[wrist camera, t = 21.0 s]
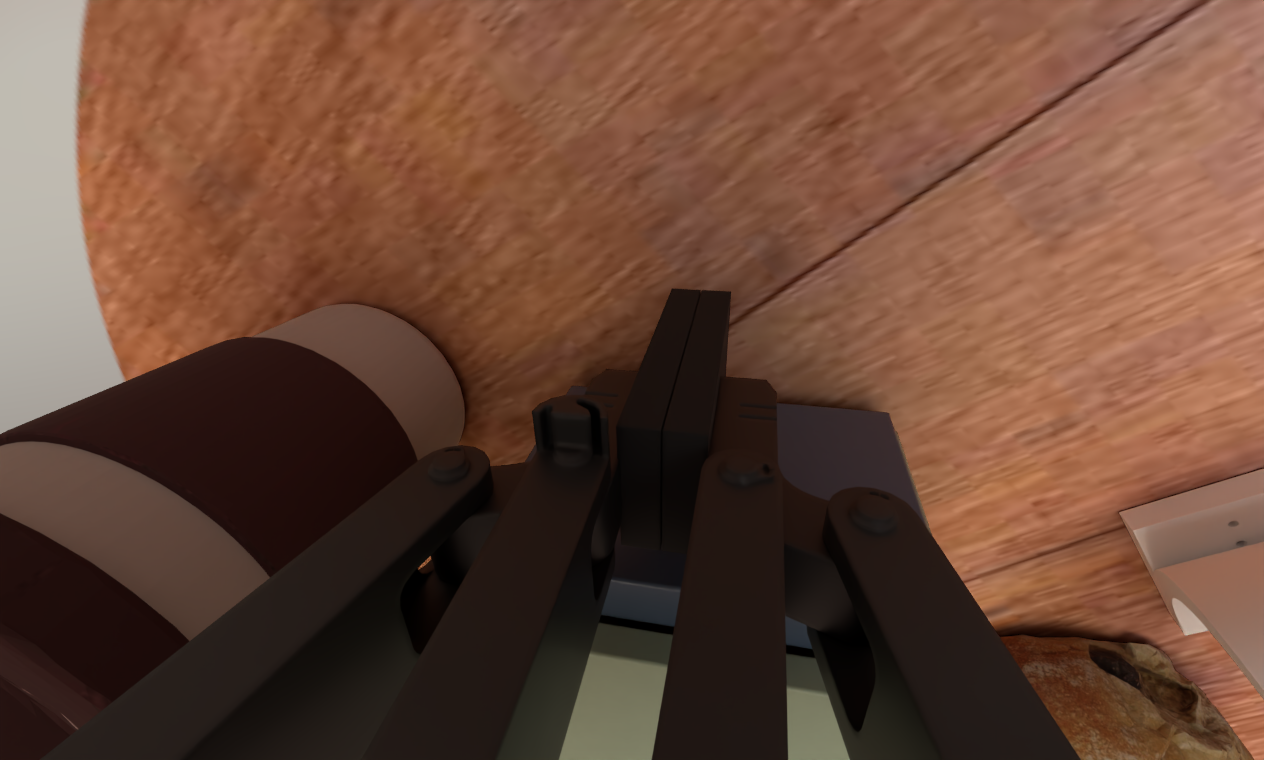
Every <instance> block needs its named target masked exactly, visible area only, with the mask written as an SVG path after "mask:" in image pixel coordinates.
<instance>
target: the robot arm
mask: <svg viewBox="0 0 1264 760" xmlns="http://www.w3.org/2000/svg"><path fill="white" fill-rule="evenodd" d="M730 300H731V292H727V291H707V290H702V291H701V290H688V289H672V290H671V292H670V295H669V297H668V300H667V302H666V304H665V307H664V309H663V312H662V314H661V317H660V319H659V322H658V324H657V327H656V329H655V332H654V334H653V336H652V339H651V341H650V344H649V346H648V349H647V351H646V354H645V356H644V359H643V361H642V363H641V366H640V368H639V371H625V370H612V369H606V370H605V371H603V372H602V373H600V374H599V375H597V376H596V377H595V378H593V379H592V380H591V382H590V384H589V386H588V388H587V389H586V391H585V394H584V395H564V396H559V397H555V398H551V399H549V400H547V401H545V402H542V403H540V404H539V405H538V406H537V407H536V408H535V409H534V410H533V411H532V416H533V424H534V432H535V439H536V447H537V451H536V453H535V455H534V457H533V458H532V460H531V461H528V462H523V463H518V464H510V465H501V466H491V467H490V461H489V458H488V457H487V455H486V454H485V452H483V451H481V450H480V449H478V448H476V447H470V446H463V445H460V446H451V447H445V448H442V449H439V450H436V451H433V452H431V453H429V454H428V455H426V456H424V457H423V458H421V459H420V460H418V461H417V462H416V463H415V464H413V465H412V466H411V467H410V468H408V469H407V470H406V471H405V472H403V473H402V474H401V475H399V476H398V477H397V478H396V479H394V480H393V481H392V482H391V483H389V484H388V485H387V486H386V487H384V488H383V489H382V490H380V491H379V492H378V493H377V494H375V495H374V496H373V497H372V498H370V499H369V500H368V501H367V502H365V503H364V504H363V505H361V506H360V507H359V508H358V509H356V510H355V511H354V512H353V513H351V514H350V515H349V516H348V517H346V518H345V519H344V520H342V521H341V522H340V523H339V524H337V525H336V526H335V527H334V528H332V529H331V530H330V531H329V532H327V533H326V534H325V535H323V536H322V537H321V538H320V539H318V540H317V541H316V542H315V543H313V544H312V545H311V546H310V547H308V548H307V549H306V550H305V551H303V552H302V553H301V554H299V555H298V556H297V557H296V558H294V559H293V560H292V561H291V562H289V563H288V564H287V565H286V566H284V567H283V568H282V569H280V570H279V571H278V572H277V573H275V574H274V575H273V576H272V577H270V578H269V579H268V580H267V581H265V582H264V583H263V584H261V585H260V586H259V587H258V588H256V589H255V590H254V591H253V592H251V593H250V594H249V595H248V596H246V597H245V598H244V599H242V600H241V601H240V602H239V603H237V604H236V605H235V606H234V607H232V608H231V609H230V610H229V611H227V612H226V613H225V614H223V615H222V616H221V617H220V618H218V619H217V620H216V621H215V622H213V623H212V624H211V625H210V626H208V627H207V628H206V629H205V630H203V631H202V632H201V633H199V634H198V635H197V636H196V637H194V638H193V639H192V640H191V641H189V642H188V643H187V644H186V645H184V646H183V647H182V648H180V649H179V650H178V651H177V652H175V653H174V654H173V655H172V656H170V657H169V658H168V659H167V660H165V661H164V662H163V663H161V664H160V665H159V666H158V667H156V668H155V669H154V670H153V671H151V672H150V673H149V674H148V675H146V676H145V677H144V678H142V679H141V680H140V681H139V682H137V683H136V684H135V685H134V686H132V687H131V688H130V689H129V690H127V691H126V692H125V693H123V694H122V695H121V696H120V697H118V698H117V699H116V700H115V701H113V702H112V703H111V704H110V705H108V706H107V707H106V708H104V709H103V710H102V711H101V712H99V713H98V714H97V715H96V716H94V717H93V718H92V719H91V720H89V721H88V722H87V723H86V724H84V725H83V726H82V727H80V728H79V729H78V730H77V731H75V732H74V733H73V734H72V735H70V736H69V737H68V738H67V739H65V740H64V741H63V742H61V743H60V744H59V745H58V746H56V747H55V748H54V749H53V750H51V751H50V752H49V753H48V754H46V755H45V756H44V757H42V758H41V759H40V760H559V758H560V754H561V751H562V747H563V744H564V740H565V737H566V734H567V730H568V727H569V723H570V720H571V716H572V713H573V709H574V706H575V703H576V699H577V696H578V692H579V689H580V685H581V682H582V678H583V675H584V672H585V668H586V665H587V661H588V658H589V654H590V651H591V648H592V644H593V641H594V637H595V634H596V630H597V627H598V623H599V620H600V617H601V613H602V610H603V606H604V603H605V599H606V596H607V593H608V589H609V586H610V582H611V579H612V575H613V572H614V568H615V542H616V539H617V536H618V532H619V529H620V532H621V545H624V546H631V547H638V548H646V549H653V550H661V545H662V551H667V552H675V553H682V554H687V556H686V562H685V568H684V574H683V579H682V585H681V591H680V597H679V603H678V609H677V615H676V620H675V626H674V632H673V638H672V644H671V650H670V655H669V661H668V667H667V673H666V679H665V685H664V690H663V696H662V702H661V708H660V714H659V720H658V725H657V731H656V737H655V743H654V749H653V755H652V760H788V723H787V675H786V627H785V616H786V617H789V618H791V619H793V620H795V621H798V622H800V623H802V624H805V625H806V627H807V635H808V638H809V640H810V643H811V646H812V649H813V652H814V655H815V658H816V661H817V664H818V667H819V670H820V673H821V676H822V679H823V682H824V685H825V688H826V691H827V694H828V697H829V700H830V703H831V705H832V708H833V711H834V714H835V717H836V720H837V723H838V726H839V729H840V732H841V735H842V738H843V741H844V744H845V747H846V750H847V753H848V756H849V759H850V760H1081V759H1080V757H1079V756H1078V754H1077V753H1076V751H1075V750H1074V748H1073V747H1072V745H1071V744H1070V742H1069V741H1068V739H1067V738H1066V736H1065V735H1064V733H1063V732H1062V730H1061V729H1060V727H1059V726H1058V724H1057V723H1056V721H1055V720H1054V718H1053V717H1052V715H1051V714H1050V712H1049V711H1048V709H1047V708H1046V706H1045V705H1044V703H1043V702H1042V700H1041V699H1040V697H1039V696H1038V694H1037V693H1036V691H1035V690H1034V688H1033V687H1032V685H1031V684H1030V682H1029V681H1028V679H1027V678H1026V676H1025V675H1024V673H1023V672H1022V670H1021V669H1020V667H1019V666H1018V664H1017V663H1016V661H1015V660H1014V658H1013V657H1012V655H1011V654H1010V652H1009V651H1008V649H1007V648H1006V646H1005V645H1004V643H1003V642H1002V640H1001V639H1000V637H999V636H998V634H997V633H996V631H995V630H994V628H993V627H992V625H991V624H990V622H989V621H988V619H987V618H986V616H985V614H984V613H983V611H982V610H981V608H980V607H979V605H978V604H977V602H976V601H975V599H974V598H973V596H972V595H971V593H970V592H969V590H968V589H967V587H966V586H965V584H964V583H963V581H962V580H961V578H960V577H959V575H958V574H957V572H956V571H955V569H954V568H953V566H952V565H951V563H950V562H949V560H948V559H947V557H946V556H945V554H944V553H943V551H942V550H941V548H940V547H939V545H938V544H937V542H936V541H935V539H934V538H933V536H932V535H931V533H930V532H929V530H928V529H927V527H926V526H925V524H924V523H923V521H922V520H921V518H920V517H919V515H918V514H917V513H916V512H915V511H914V510H913V509H912V507H911V506H910V505H909V504H908V503H907V502H905V501H903V500H902V499H900V498H898V497H897V496H895V495H893V494H891V493H888V492H885V491H882V490H879V489H876V488H868V487H852V488H847V489H842V490H840V491H839V492H837V493H836V494H834V495H832V497H831V499H830V501H828V500H825V499H822V498H819V497H816V496H813V495H811V494H808V493H806V492H804V491H801V490H800V489H798V488H797V487H795V486H793V485H792V484H791V483H790V482H789V481H788V480H787V479H786V478H784V476H783V474H782V473H781V471H780V468H779V465H778V437H777V393H776V391H775V390H774V389H773V388H772V386H771V385H770V384H769V383H768V381H767V380H761V379H748V378H735V377H726V362H727V347H728V331H729V316H730ZM430 555H431V560H430V561H429V562H428V563H427V564H426V565H425V566H424V567H422V568H421V569H419V570H418V569H417V568H418V567H419V566H420V565H421V564H422V563H423V562H424V561H425V560H426V559H427V558H428V557H429V556H430Z"/></svg>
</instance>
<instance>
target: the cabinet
mask: <svg viewBox="0 0 1264 760" xmlns="http://www.w3.org/2000/svg"><path fill="white" fill-rule="evenodd" d="M895 433H896V436H897V439H898V442H899V445H900V448H901V451H902V454H903V457H904V460H905V463H906V467H907V470H908V473H909V476H910V479H911V482H912V485H913V488H914V491H915V494H916V497H917V500H918V503H919V506H920V509H921V512H922V515H923V518H924V521H925V524H926V527H927V529H928V530H929V532H930V533H931V531H930V528H929V525H928V522H927V519H926V516H925V513H924V510H923V507H922V504H921V501H920V498H919V495H918V492H917V489H916V486H915V483H914V481H913V478H912V475H911V472H910V469H909V466H908V463H907V460H906V457H905V454H904V451H903V448H902V446H901V442H900V439H899V436H898V433H897V432H896V431H895ZM931 535H932V534H931ZM672 638H673V635H671V634H665V633H659V632H653V631H647V630H641V629H635V628H629V627H623V626H617V625H611V624H605V623H598V627H597V630H596V634H595V637H594V641H593V644H592V648H591V651H590V654H589V658H588V661H587V665H586V668H585V672H584V675H583V678H582V682H581V685H580V689H579V692H578V696H577V699H576V703H575V706H574V709H573V713H572V716H571V720H570V723H569V727H568V730H567V734H566V737H565V740H564V744H563V747H562V751H561V754H560V758H559V760H652V755H653V749H654V743H655V737H656V731H657V725H658V720H659V714H660V708H661V702H662V696H663V690H664V685H665V679H666V673H667V667H668V661H669V655H670V650H671V644H672ZM786 675H787V723H788V760H850V759H849V756H848V753H847V750H846V747H845V744H844V741H843V738H842V735H841V732H840V729H839V726H838V723H837V720H836V717H835V714H834V711H833V708H832V705H831V703H830V700H829V697H828V694H827V691H826V688H825V685H824V682H823V679H822V676H821V673H820V670H819V667H818V664H817V661H816V658H811V657H805V656H799V655H793V654H787V653H786Z"/></svg>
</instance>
